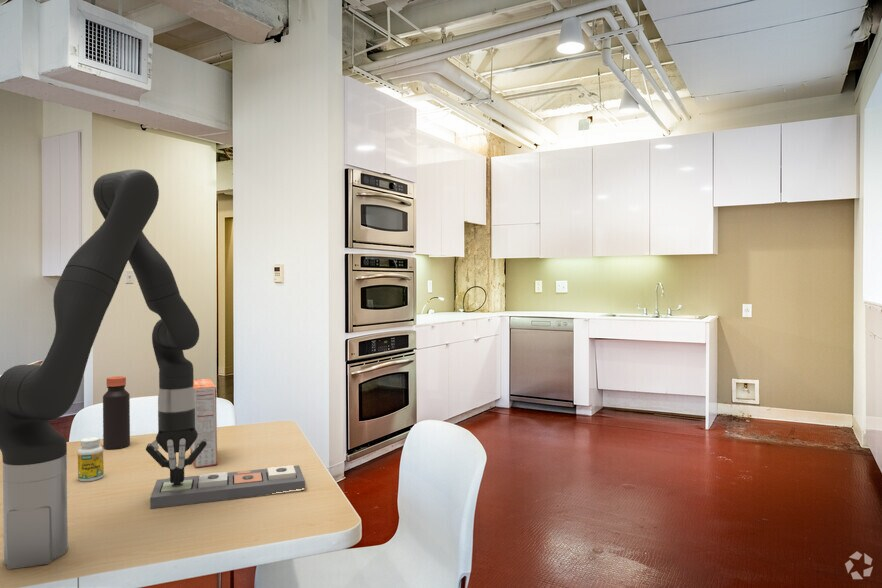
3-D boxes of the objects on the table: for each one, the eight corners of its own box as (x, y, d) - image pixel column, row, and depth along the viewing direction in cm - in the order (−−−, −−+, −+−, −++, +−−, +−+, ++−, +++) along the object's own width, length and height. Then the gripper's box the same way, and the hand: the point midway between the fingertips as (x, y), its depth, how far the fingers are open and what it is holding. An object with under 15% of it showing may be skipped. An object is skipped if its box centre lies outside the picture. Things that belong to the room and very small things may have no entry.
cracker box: (188, 454, 163) (188, 379, 163) (211, 451, 166) (211, 377, 166) (192, 468, 151) (192, 387, 150) (217, 465, 154) (217, 385, 153)
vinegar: (112, 443, 175) (111, 375, 174) (134, 443, 174) (134, 375, 174) (98, 449, 168) (97, 379, 167) (121, 449, 168) (120, 379, 167)
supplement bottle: (102, 473, 147) (102, 435, 147) (104, 479, 143) (104, 439, 142) (77, 477, 144) (77, 438, 144) (78, 483, 140) (77, 443, 140)
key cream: (295, 480, 137) (295, 471, 137) (268, 483, 135) (268, 474, 135) (293, 472, 143) (293, 464, 143) (267, 475, 141) (267, 467, 141)
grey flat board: (305, 490, 135) (304, 480, 135) (150, 508, 124) (150, 497, 124) (299, 474, 147) (299, 464, 146) (156, 489, 136) (156, 479, 136)
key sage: (191, 496, 130) (191, 487, 130) (161, 499, 128) (160, 490, 128) (192, 487, 135) (192, 478, 135) (163, 490, 133) (163, 481, 133)
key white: (227, 487, 132) (227, 479, 132) (198, 491, 130) (198, 482, 130) (227, 479, 138) (227, 470, 138) (199, 482, 136) (199, 473, 136)
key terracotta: (262, 488, 135) (262, 479, 135) (234, 491, 133) (234, 482, 133) (260, 479, 141) (260, 471, 140) (234, 482, 139) (234, 474, 138)
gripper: (141, 412, 126) (142, 493, 126) (208, 408, 130) (208, 486, 131) (145, 405, 133) (146, 482, 133) (209, 401, 137) (209, 475, 138)
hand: (177, 484), depth 132 cm, fingers closed
